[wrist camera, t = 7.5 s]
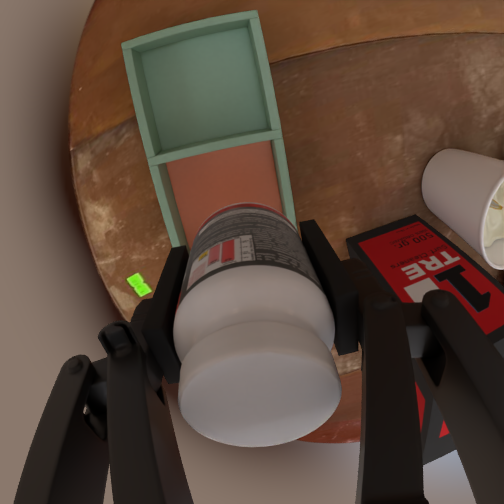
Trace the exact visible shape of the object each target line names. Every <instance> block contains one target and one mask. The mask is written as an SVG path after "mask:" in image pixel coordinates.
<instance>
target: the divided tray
mask: <svg viewBox="0 0 504 504" xmlns="http://www.w3.org/2000/svg"><path fill="white" fill-rule="evenodd" d="M121 46H122V50H123V56H124V61H125V66H126V71H127V76H128V81H129V86H130V90H131V95H132V99H133V104H134V108H135V112H136V117H137V121H138V125H139V129H140V133H141V137H142V141H143V145H144V149H145V153H146V157H147V161H148V164H149V168H150V172H151V176H152V179H153V183H154V187H155V190H156V194H157V197H158V201H159V204H160V208H161V211H162V214H163V218H164V221H165V224H166V228H167V231H168V234H169V238H170V241H171V244H172V247H178V246H183V245H186V247H187V251H188V254H189V255H190V251H191V247H192V243H193V241H194V238H195V235H196V233H197V231H198V229H199V228H200V226H201V225H202V224H203V222H204V221H205V220H206V219H207V218H208V217H209V216H210V215H212V214H213V213H214V212H216V211H218V210H219V209H221V208H224V207H226V206H229V205H232V204H236V203H244V202H252V203H259V204H263V205H267V206H269V207H272V208H274V209H276V210H277V211H279V212H281V213H282V214H283V215H285V216H286V217H287V218H288V219H289V220H290V222H291V223H292V224H293V225H294V227H295V228H296V230H297V223H296V216H295V210H294V203H293V196H292V190H291V184H290V177H289V171H288V165H287V159H286V153H285V147H284V141H283V136H282V130H281V124H280V119H279V113H278V108H277V102H276V97H275V92H274V87H273V82H272V77H271V72H270V67H269V62H268V57H267V52H266V48H265V43H264V38H263V34H262V29H261V25H260V20H259V16H258V12H257V10H252V11H245V12H239V13H233V14H227V15H222V16H217V17H212V18H207V19H202V20H198V21H194V22H190V23H185V24H182V25H178V26H174V27H170V28H167V29H163V30H160V31H156V32H153V33H150V34H147V35H144V36H140V37H137V38H134V39H132V40H129V41H126V42H123V43H121ZM297 232H298V230H297Z"/></svg>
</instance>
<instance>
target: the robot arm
mask: <svg viewBox="0 0 504 504" xmlns="http://www.w3.org/2000/svg"><path fill="white" fill-rule="evenodd" d="M299 223H300V230H301V237H302V243H303V245H304V247H305V249H306V252H307V254H308V256H309V259H310V261H311V263H312V265H313V268H314V270H315V272H316V275H317V277H318V279H319V281H320V283H321V286H322V288H323V290H324V292H325V295H326V297H327V299H328V302H329V304H330V307H331V309H332V312H333V316H334V321H335V337H334V344H335V347H336V349H337V352H338V355H339V356H340V355H344V354H348V353H352V352H356V351H358V340H359V343H360V345H361V347H362V364H361V371H362V412H361V438H360V455H359V470H358V481H357V491H356V501H355V504H429V502H428V500H426V498H425V497H424V490H423V459H422V443H421V430H420V419H419V410H418V401H417V393H416V385H415V378H414V371H413V365H412V358H415V360H416V362H417V364H418V366H419V368H420V370H421V372H422V374H423V376H424V378H425V380H426V382H427V384H428V386H429V389H430V391H431V393H432V395H433V397H434V399H435V401H436V404H437V406H438V408H439V410H440V412H441V415H442V417H443V419H444V421H445V424H446V426H447V428H448V431H449V433H450V435H451V438H452V440H453V442H454V445H455V447H456V450H457V452H458V455H459V457H460V460H461V462H462V465H463V467H464V470H465V473H466V475H467V478H468V480H469V483H470V486H471V489H472V492H473V495H474V498H475V500H476V503H477V504H504V359H503V357H502V356H501V355H500V353H499V352H498V350H497V349H496V348H495V346H494V345H493V343H492V342H491V341H490V339H489V338H488V337H487V335H486V334H485V333H484V331H483V330H482V329H481V327H480V326H479V325H478V323H477V322H476V321H475V320H474V318H473V317H472V316H471V315H470V313H469V312H468V311H467V309H466V308H465V307H464V306H463V305H462V303H461V302H460V301H459V300H458V298H457V297H456V296H455V295H454V294H452V293H451V292H449V291H447V290H442V289H435V290H430V291H428V292H426V293H425V294H424V295H423V299H422V302H412V303H407V302H401V301H400V300H399V298H398V297H397V296H396V295H394V294H392V293H389V292H385V291H384V289H383V288H382V286H381V285H380V283H379V282H378V281H377V279H376V278H375V276H373V274H372V272H371V271H370V270H369V268H368V267H367V265H366V264H365V263H364V262H363V261H361V260H359V259H357V258H353V259H348V260H344V261H340V259H339V258H338V256H337V255H336V253H335V251H334V250H333V248H332V247H331V245H330V243H329V242H328V240H327V239H326V237H325V235H324V234H323V232H322V231H321V229H320V228H319V226H318V225H317V223H316V221H315V220H314V219H313V220H308V221H303V222H299ZM188 260H189V254H188V251H187V247H186V245H183V246H178V247H173V248H171V251H170V253H169V256H168V258H167V261H166V263H165V266H164V269H163V271H162V274H161V277H160V279H159V282H158V285H157V287H156V290H155V293H154V295H153V298H150V299H144V300H142V301H141V302H140V303H139V304H138V306H137V307H136V309H135V311H134V313H133V316H132V318H131V322H130V323H129V322H127V321H122V320H120V321H115V322H113V323H110V324H108V325H107V326H106V327H104V328H103V329H102V330H101V331H100V332H99V335H98V339H99V340H100V342H101V344H102V346H103V347H104V349H105V351H106V353H107V354H108V355H107V357H106V358H104V359H101V360H98V361H95V362H91V361H90V359H89V358H88V357H87V356H86V355H77V356H74V357H72V358H70V359H69V360H68V361H66V362H65V363H64V365H63V366H62V368H61V371H60V373H59V375H58V377H57V380H56V382H55V384H54V387H53V389H52V391H51V394H50V397H49V399H48V401H47V404H46V406H45V409H44V412H43V414H42V417H41V419H40V422H39V424H38V427H37V430H36V433H35V435H34V438H33V441H32V444H31V447H30V450H29V453H28V456H27V459H26V462H25V465H24V469H23V472H22V475H21V478H20V482H19V485H18V489H17V493H16V496H15V500H14V504H103V500H104V493H105V487H106V481H107V474H108V468H109V463H110V474H111V484H112V493H113V501H114V504H194V503H193V500H192V496H191V493H190V490H189V486H188V483H187V479H186V475H185V472H184V468H183V464H182V461H181V457H180V453H179V449H178V445H177V441H176V437H175V432H174V428H173V424H172V419H171V415H170V410H169V405H168V401H167V396H166V391H165V389H164V387H163V385H162V384H161V382H162V377H163V375H164V377H165V379H166V380H167V382H168V384H172V383H179V382H180V369H181V365H182V363H181V361H180V359H179V357H178V355H177V353H176V349H175V345H174V339H173V327H174V319H175V313H176V309H177V305H178V300H179V296H180V293H181V288H182V284H183V280H184V276H185V272H186V268H187V263H188ZM84 407H86V408H87V409H86V412H85V414H84V413H83V410H84Z"/></svg>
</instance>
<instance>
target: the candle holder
mask: <svg viewBox="0 0 504 504" xmlns="http://www.w3.org/2000/svg"><path fill="white" fill-rule="evenodd" d="M422 195H423V199H424V201H425V204H426V205H427V207H428V208H429V210H430V211H431V212H432V213H433V214H434V215H435V216H437V217H438V218H439V219H440V220H441V221H442V222H444V223H445V224H446V225H447V226H448V227H449V228H451V229H452V230H453V231H454V232H455V233H456V234H457V235H459V236H460V237H461V238H462V239H463V240H464V241H465V242H466V243H467V244H469V245H470V246H471V247H472V248H473V249H474V250H475V251H476V252H477V253H478V254H479V255H480V256H481V257H483V258H484V260H485V261H486V262H487V263H488V264H489V265H490V266H491V267H493V268H495V269H498V270H504V161H503V160H500V159H496V158H493V157H489V156H485V155H481V154H477V153H473V152H469V151H465V150H460V149H453V148H449V149H444V150H442V151H440V152H438V153H437V154H435V155H434V156H433V157H432V158H431V160H430V161H429V162H428V164H427V166H426V168H425V171H424V174H423V178H422Z"/></svg>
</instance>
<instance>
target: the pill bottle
mask: <svg viewBox="0 0 504 504" xmlns="http://www.w3.org/2000/svg"><path fill="white" fill-rule="evenodd" d="M334 337H335V321H334V316H333V312H332V309H331V307H330V304H329V302H328V299H327V297H326V295H325V292H324V290H323V288H322V286H321V283H320V281H319V279H318V277H317V275H316V272H315V270H314V268H313V265H312V263H311V261H310V259H309V256H308V254H307V252H306V249H305V247H304V245H303V243H302V241H301V238H300V236H299V234H298V232H297V230H296V228H295V227H294V225H293V224H292V223H291V222H290V220H289V219H288V218H287V217H286V216H285V215H283V214H282V213H281V212H279V211H277V210H276V209H274V208H272V207H269V206H267V205H263V204H259V203H252V202H244V203H236V204H232V205H229V206H226V207H224V208H221V209H219V210H218V211H216V212H214V213H213V214H212V215H210V216H209V217H208V218H207V219H206V220H205V221H204V222H203V224H202V225H201V226H200V228H199V229H198V231H197V233H196V235H195V238H194V241H193V243H192V247H191V251H190V255H189V260H188V263H187V268H186V272H185V276H184V280H183V284H182V288H181V293H180V296H179V300H178V305H177V309H176V313H175V319H174V327H173V339H174V345H175V349H176V353H177V355H178V357H179V359H180V361H181V363H182V365H181V369H180V382H179V391H178V405H179V409H180V411H181V414H182V416H183V418H184V419H185V421H186V422H187V423H188V424H189V425H190V426H191V427H192V428H193V429H194V430H196V431H197V432H199V433H200V434H202V435H204V436H205V437H207V438H210V439H212V440H215V441H218V442H221V443H225V444H229V445H234V446H243V447H262V446H271V445H278V444H282V443H286V442H289V441H293V440H296V439H298V438H300V437H303V436H305V435H307V434H309V433H310V432H312V431H314V430H315V429H317V428H318V427H320V426H321V425H322V424H323V423H324V422H326V421H327V420H328V419H329V418H330V416H331V415H332V414H333V413H334V411H335V409H336V408H337V406H338V404H339V401H340V399H341V391H342V387H341V381H340V378H339V375H338V372H337V368H336V365H335V362H334V359H333V356H332V354H331V349H332V346H333V342H334Z"/></svg>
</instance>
